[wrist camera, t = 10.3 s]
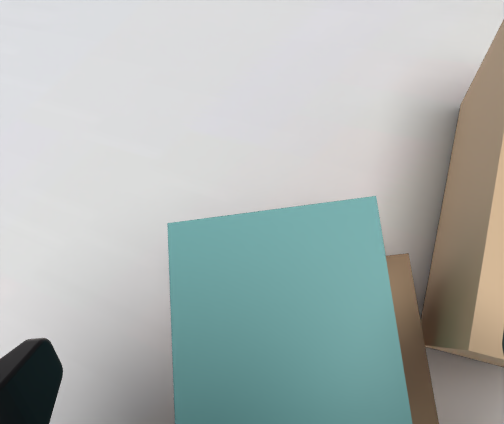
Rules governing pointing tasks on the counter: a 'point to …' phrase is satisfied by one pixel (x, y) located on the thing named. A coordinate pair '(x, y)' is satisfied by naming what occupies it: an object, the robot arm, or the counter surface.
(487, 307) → the box
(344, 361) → the lid
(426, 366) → the walnut block
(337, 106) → the counter surface
